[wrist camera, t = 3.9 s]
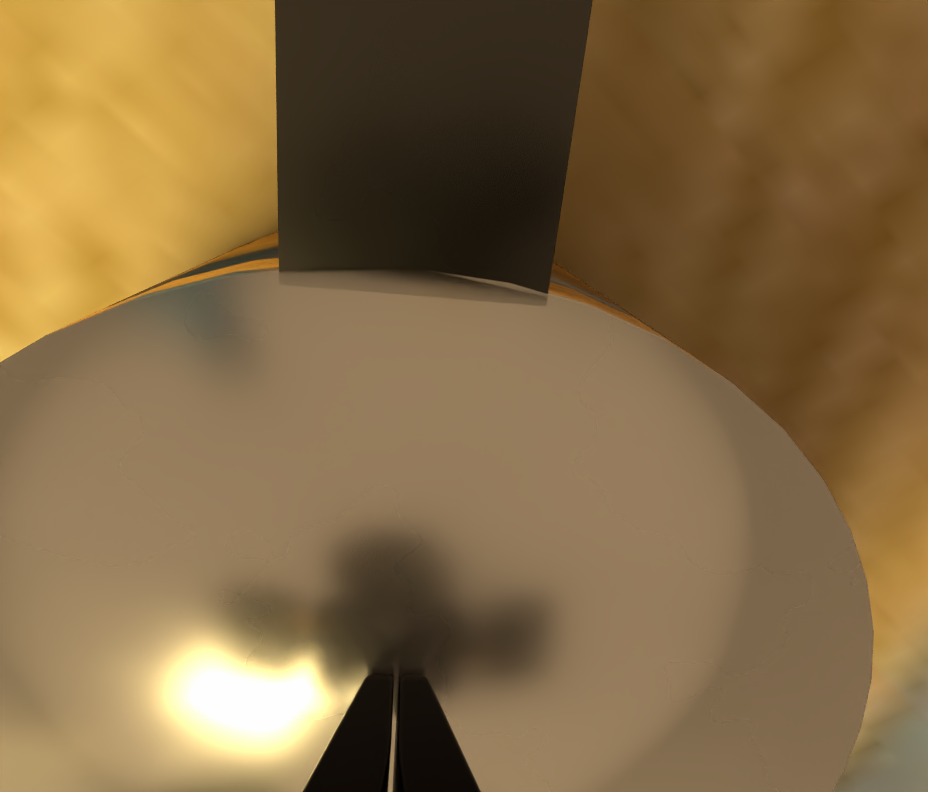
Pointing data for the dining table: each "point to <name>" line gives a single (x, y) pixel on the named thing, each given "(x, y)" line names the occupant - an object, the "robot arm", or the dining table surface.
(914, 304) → the dining table surface
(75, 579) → the lid
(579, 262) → the dining table surface
